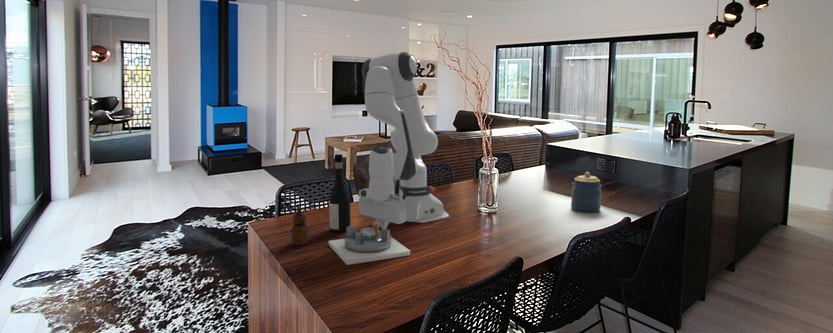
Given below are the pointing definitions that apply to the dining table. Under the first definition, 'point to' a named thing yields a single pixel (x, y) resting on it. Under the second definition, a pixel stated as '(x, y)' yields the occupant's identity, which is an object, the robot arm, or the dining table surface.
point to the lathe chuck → (367, 239)
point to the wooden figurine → (299, 228)
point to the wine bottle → (339, 201)
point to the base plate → (357, 257)
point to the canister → (586, 194)
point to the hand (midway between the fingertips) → (382, 231)
